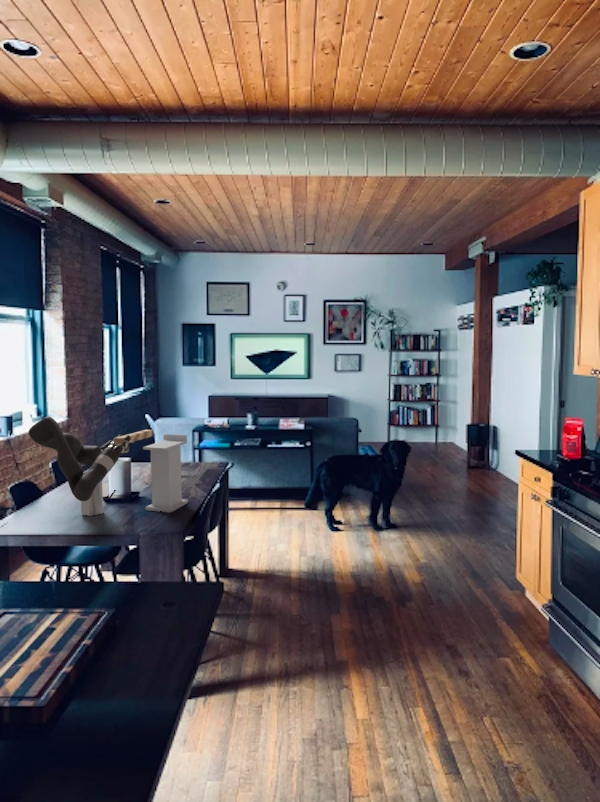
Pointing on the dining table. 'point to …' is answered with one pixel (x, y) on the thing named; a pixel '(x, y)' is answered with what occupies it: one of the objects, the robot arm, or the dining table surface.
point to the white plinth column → (166, 473)
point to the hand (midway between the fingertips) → (124, 436)
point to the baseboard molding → (105, 489)
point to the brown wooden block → (134, 436)
